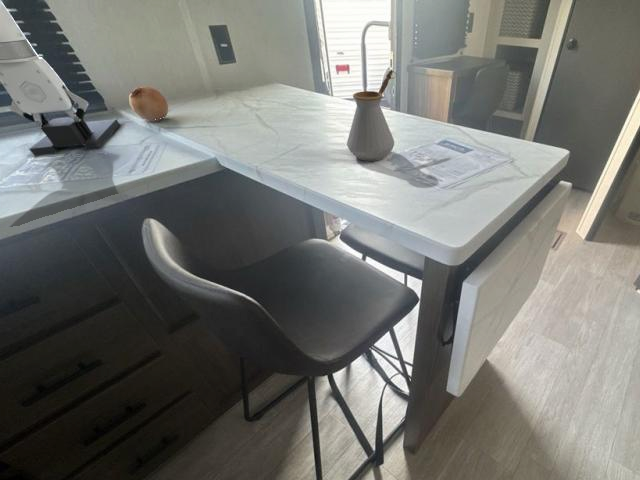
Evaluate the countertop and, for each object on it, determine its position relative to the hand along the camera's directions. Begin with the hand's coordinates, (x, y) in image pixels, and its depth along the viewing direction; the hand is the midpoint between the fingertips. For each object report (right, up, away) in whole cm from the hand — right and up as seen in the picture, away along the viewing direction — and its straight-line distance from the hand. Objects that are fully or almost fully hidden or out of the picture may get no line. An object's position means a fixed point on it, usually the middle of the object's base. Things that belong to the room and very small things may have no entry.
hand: (73, 138), depth 82 cm
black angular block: (0, 0, 0) cm, 1 cm away
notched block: (-3, +2, +5) cm, 6 cm away
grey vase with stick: (+80, -3, -1) cm, 80 cm away
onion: (+10, +14, +16) cm, 23 cm away
